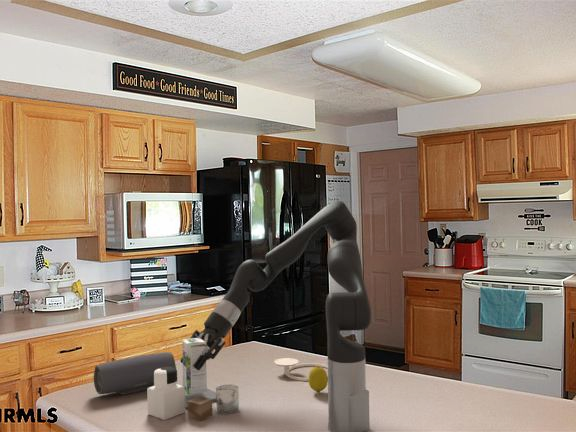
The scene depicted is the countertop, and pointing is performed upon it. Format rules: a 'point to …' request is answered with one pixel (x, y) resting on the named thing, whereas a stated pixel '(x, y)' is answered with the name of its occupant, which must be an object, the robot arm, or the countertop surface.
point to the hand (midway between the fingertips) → (189, 365)
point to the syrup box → (192, 377)
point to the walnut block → (199, 408)
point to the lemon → (318, 379)
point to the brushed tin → (227, 399)
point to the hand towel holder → (292, 362)
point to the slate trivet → (206, 394)
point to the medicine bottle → (166, 394)
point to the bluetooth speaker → (130, 373)
